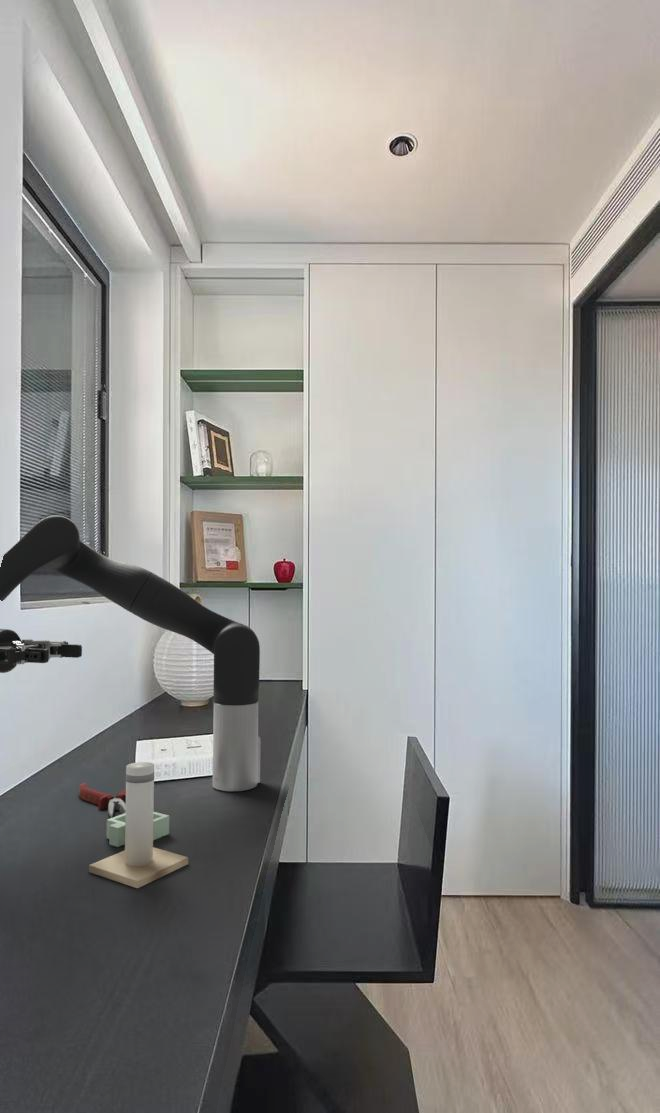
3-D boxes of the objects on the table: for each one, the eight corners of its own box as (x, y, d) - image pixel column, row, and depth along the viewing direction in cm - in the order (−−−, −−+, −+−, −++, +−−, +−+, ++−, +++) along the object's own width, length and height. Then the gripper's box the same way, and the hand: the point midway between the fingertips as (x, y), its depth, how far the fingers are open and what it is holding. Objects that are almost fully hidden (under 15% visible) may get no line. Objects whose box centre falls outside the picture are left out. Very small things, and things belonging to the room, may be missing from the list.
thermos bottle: (139, 853, 108) (141, 760, 108) (158, 859, 105) (160, 764, 106) (118, 862, 104) (119, 766, 105) (137, 868, 102) (139, 770, 102)
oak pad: (141, 849, 112) (141, 843, 112) (188, 864, 106) (188, 857, 106) (89, 872, 103) (89, 865, 103) (137, 888, 98) (137, 881, 98)
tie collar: (139, 825, 123) (139, 808, 123) (169, 833, 119) (169, 815, 119) (98, 841, 115) (98, 822, 115) (129, 850, 111) (129, 831, 112)
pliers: (85, 827, 123) (85, 812, 123) (77, 794, 141) (78, 781, 142) (152, 819, 127) (153, 804, 128) (136, 788, 146) (136, 775, 146)
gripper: (-47, 631, 117) (35, 634, 112) (15, 625, 131) (91, 628, 126) (-48, 676, 117) (34, 681, 112) (14, 666, 130) (90, 670, 126)
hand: (64, 653), depth 119 cm, fingers open, 8 cm apart
